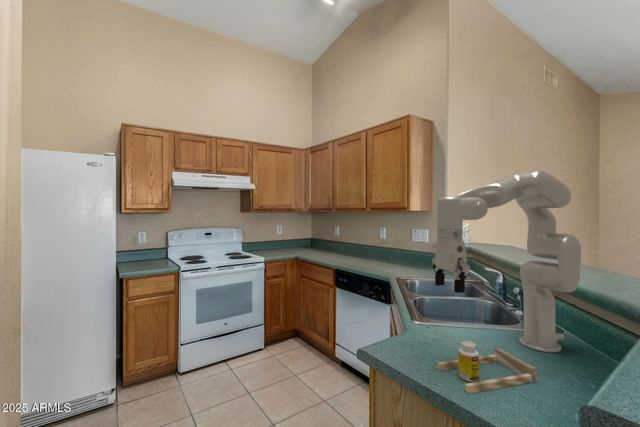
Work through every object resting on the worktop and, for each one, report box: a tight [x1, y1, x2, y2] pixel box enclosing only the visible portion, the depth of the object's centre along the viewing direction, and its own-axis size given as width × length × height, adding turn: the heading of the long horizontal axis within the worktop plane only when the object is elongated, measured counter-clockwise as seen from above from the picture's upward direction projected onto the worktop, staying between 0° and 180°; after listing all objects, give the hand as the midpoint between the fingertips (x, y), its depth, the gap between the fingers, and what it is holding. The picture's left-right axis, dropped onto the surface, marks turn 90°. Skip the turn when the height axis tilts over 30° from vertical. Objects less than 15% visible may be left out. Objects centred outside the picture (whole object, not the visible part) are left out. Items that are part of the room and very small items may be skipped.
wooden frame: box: [436, 347, 538, 394], centre depth 89 cm, size 24×13×4 cm, turn 104°
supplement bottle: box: [457, 340, 480, 383], centre depth 87 cm, size 6×6×10 cm
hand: (449, 288), depth 93 cm, fingers open, 9 cm apart
